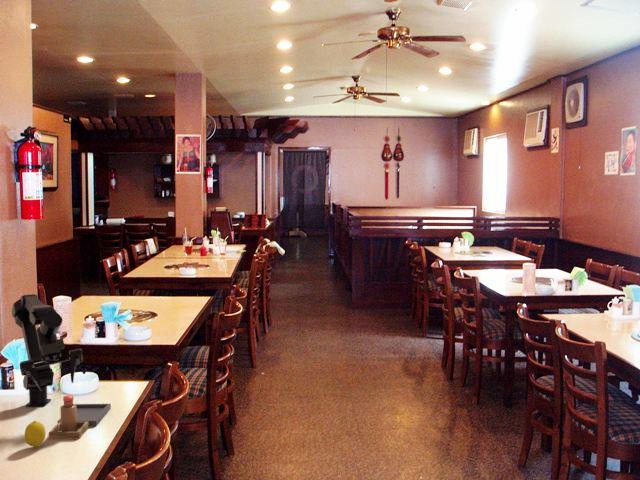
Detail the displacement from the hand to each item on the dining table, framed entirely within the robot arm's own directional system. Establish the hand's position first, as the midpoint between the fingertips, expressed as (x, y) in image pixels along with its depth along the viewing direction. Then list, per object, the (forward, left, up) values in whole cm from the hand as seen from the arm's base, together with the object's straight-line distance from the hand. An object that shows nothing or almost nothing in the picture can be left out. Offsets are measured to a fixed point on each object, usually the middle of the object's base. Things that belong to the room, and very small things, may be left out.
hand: (57, 386), depth 198 cm
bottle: (+7, +6, -12) cm, 16 cm away
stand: (+7, +6, -12) cm, 16 cm away
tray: (-6, +7, -12) cm, 15 cm away
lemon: (+18, 0, -13) cm, 22 cm away
